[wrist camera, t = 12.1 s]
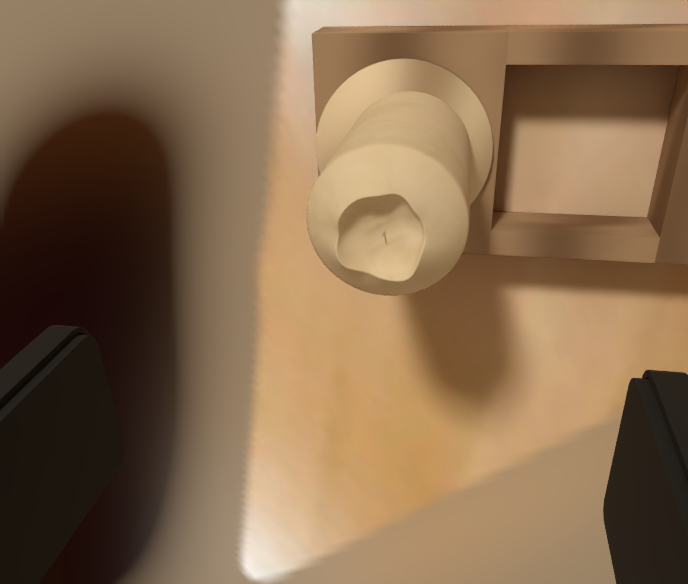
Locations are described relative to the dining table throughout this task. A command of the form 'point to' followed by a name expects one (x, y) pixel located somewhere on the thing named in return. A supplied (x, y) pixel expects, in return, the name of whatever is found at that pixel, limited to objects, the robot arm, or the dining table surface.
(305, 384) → the dining table surface
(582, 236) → the wooden holder tray
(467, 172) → the candle
